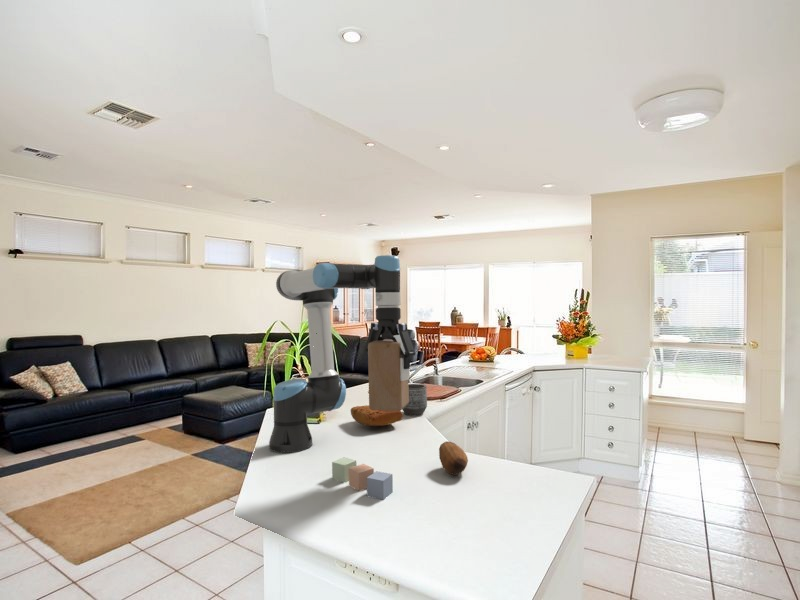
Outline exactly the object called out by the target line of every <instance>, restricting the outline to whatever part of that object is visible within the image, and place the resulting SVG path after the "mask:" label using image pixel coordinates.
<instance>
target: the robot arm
mask: <svg viewBox="0 0 800 600" xmlns="http://www.w3.org/2000/svg"><path fill="white" fill-rule="evenodd" d="M400 265H401V264H400V257H398V255H397V256H396V255H391V254H389V255H388V254H386V255H385V254H384V255H382V254H381V255H377V256H376V257H375V258H374V264H373V263H372V264H354V263H335V262H334V263H333V262H332V263H331V262H318V263H317V264H316V265H315V267H311V268H308V269H292V270H291V269H290V270H286V271H283V272H281V273H280V274H279V275H278V277H277V279H276V280H275V281H276V282H275V285H276V290H277V292H278V293H279V295H280V296H281V297H283V298H285V299H288V300H290V301H302V306H303V308H305V310H307V323H308V324H307V325H308V338H309V340H308V341H309V353H310V354H309V355H310V366H311V367H310V369H311V373H310V374H309V375H308V376H307V379H308V380H306V379H304V378H297V379H288V380H285V381H282V382H279V383H277V384H276V385H275V386H274V389H273V396H272V399H273V428H272V431H271V435H270V439H269V442H268V443H269V444H268V445H269V446H268V449H269V450H270V451H271V452H276V453H281V454H282V453H283V454H284V453H285V454H286V453H296V452H302V451H304V450H306V449H310V447H312V446H313V437H312V434H311V430H310V428H309V425H308V415H312V414H318V413H323V412H332V411H335V410H338V409H340V408H341V407H342V406H343V404H344V402H345V400H346V397H347V386H346V384H345V381H344V380H343V378H340V375H339V373H338V372H337V371H336V370H335V363H334V362H335V361H334V348H333V335H332V322H331V320H332V319H331V307H332V306H333V305H334V301H335V300H336V299H337V297H338V293H339V289H361V290H370V289H374V290H375V306H376V308H375V320H376V321H378V322H376V321H375V322H371V323H370V330H369V334H368V336H367V339H366V344H365V347H364V351H365V352H366V353H368V344H369V343H370V342H373V341H377V340H386V338H387V339H390V340H393V341H394V342H400V343H401V347H400V354H401V355H402V356H401V358H400V380H401V381H404V380H408V381H409V380H410V368H411V357H413V356H416V352H415V348H414V345H413V343H412V340H411V337H410V335H409V334H410V333H409V331H408V325H407V323H406V322H404V323H399V321H400V320H401V317H402V316H401V315H402V314H401V312H402V310H401V307H399V306H401V267H400ZM316 333H317V334H316ZM313 346H314V347H313Z"/></svg>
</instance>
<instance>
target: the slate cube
mask: <svg viewBox="0 0 800 600" xmlns="http://www.w3.org/2000/svg"><path fill="white" fill-rule="evenodd" d="M393 483H394V482H393V473H390V472H389V473H388V472H382V471H377V470H376V471H374V473H373V474H372V475H370V476H369V477H367V489H366V497H368V496H369V498H373V499H379V500H382V499H383V501H384V500H386V499H387V498H388V497H389V496H390V495H392V493H394V489H393V488H394V485H393ZM386 497H387V498H386Z"/></svg>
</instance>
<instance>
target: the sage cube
mask: <svg viewBox="0 0 800 600" xmlns="http://www.w3.org/2000/svg"><path fill="white" fill-rule="evenodd" d="M354 466H357V460H356V459H353V458H349V457H345V456H344V457H343V456H342V457H341V458H339V459H337V460H334V461H331V468H332V469H331V471H332V472H331V474H332V475H331V476H332V478H331V479H332V480H334V479H335V480H334V481H337V480H338V481H337V482H341V483H344V482H345V483H347V482H349V468H350V467H354Z"/></svg>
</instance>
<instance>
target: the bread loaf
mask: <svg viewBox="0 0 800 600" xmlns="http://www.w3.org/2000/svg"><path fill="white" fill-rule="evenodd" d="M350 414H351V417H352V419H353V420H354V421H356V422H357V423H359V424H360V425H363V426H368V427H378V426H379V427H380V426H388V425H391V424H395V423H397V422H399V421H401V420H402V419H403V414H404V413H403V411H402V410H400V411H384V410H372V409H370V408H369V404H368V405H366V404H365V405H360V406H359V405H357V406H353V407H351V408H350Z"/></svg>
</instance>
